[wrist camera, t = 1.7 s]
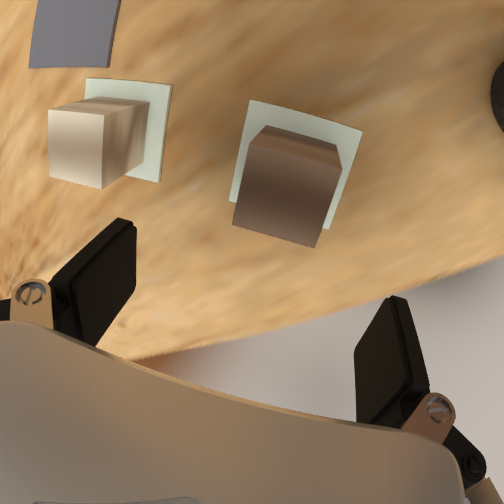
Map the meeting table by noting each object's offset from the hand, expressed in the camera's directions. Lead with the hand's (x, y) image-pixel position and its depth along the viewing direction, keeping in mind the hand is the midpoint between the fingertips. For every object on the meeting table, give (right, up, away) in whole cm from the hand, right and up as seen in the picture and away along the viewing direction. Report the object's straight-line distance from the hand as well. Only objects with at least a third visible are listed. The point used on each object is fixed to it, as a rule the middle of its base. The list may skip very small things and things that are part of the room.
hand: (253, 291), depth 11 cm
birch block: (-11, +11, +12) cm, 19 cm away
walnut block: (+3, +7, +11) cm, 14 cm away
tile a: (+3, +8, +11) cm, 14 cm away
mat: (-15, +22, +7) cm, 27 cm away
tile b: (-10, +12, +12) cm, 20 cm away
